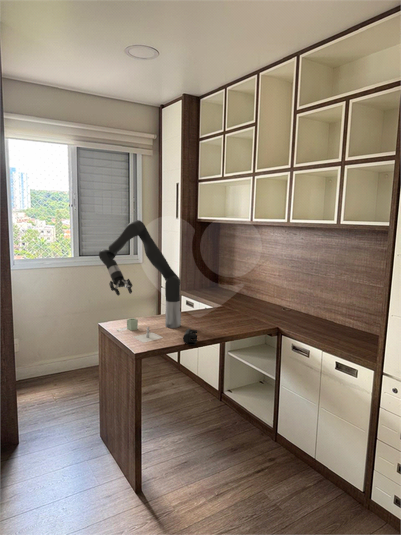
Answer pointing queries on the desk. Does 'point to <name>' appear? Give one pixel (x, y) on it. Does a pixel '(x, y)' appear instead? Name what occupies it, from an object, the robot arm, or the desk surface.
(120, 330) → the mat
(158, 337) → the peg stand
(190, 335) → the end cap
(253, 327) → the desk surface
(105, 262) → the robot arm
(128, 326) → the sleeve
